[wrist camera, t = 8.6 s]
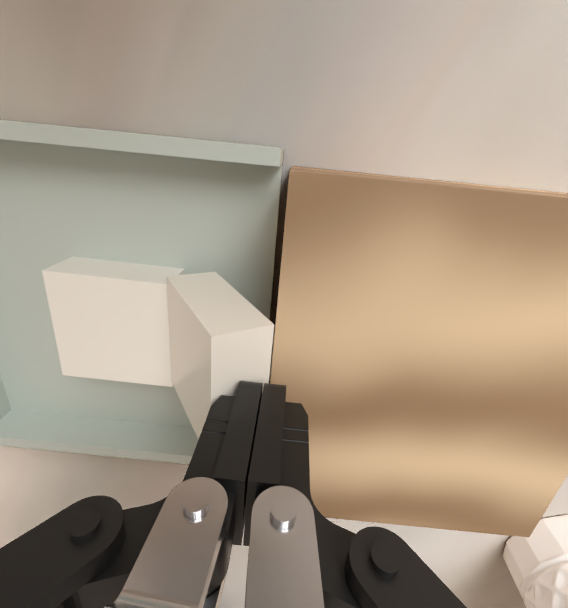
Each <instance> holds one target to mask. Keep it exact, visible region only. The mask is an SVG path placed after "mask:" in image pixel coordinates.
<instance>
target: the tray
mask: <svg viewBox="0 0 568 608" xmlns="http://www.w3.org/2000/svg"><path fill="white" fill-rule="evenodd" d="M283 155H284V149H283V148H281V147H272V146H262V145H252V144H242V143H231V142H221V141H211V140H201V139H191V138H181V137H171V136H161V135H151V134H141V133H131V132H121V131H111V130H101V129H91V128H81V127H71V126H61V125H51V124H41V123H31V122H21V121H11V120H1V119H0V446H8V447H18V448H28V449H38V450H48V451H58V452H68V453H79V454H89V455H99V456H109V457H119V458H129V459H139V460H150V461H160V462H170V463H180V464H190V461H191V459H192V456H193V453H194V450H195V448H196V445H197V442H198V438H197V436H196V434H195V431H194V429H193V427H192V425H191V423H190V420H189V418H188V416H187V414H186V412H185V410H184V407H183V405H182V403H181V401H180V399H179V396H178V394H177V392H176V390H175V388H174V386H173V387H168V386H158V385H149V384H140V383H131V382H122V381H112V380H103V379H94V378H85V377H75V376H66V375H63V374H62V369H61V364H60V359H59V354H58V349H57V344H56V339H55V334H54V329H53V324H52V319H51V314H50V309H49V304H48V299H47V294H46V289H45V284H44V279H43V274H42V270H44V269H46V268H48V267H51V266H53V265H55V264H57V263H59V262H62V261H64V260H66V259H68V258H71V257H73V256H74V257H83V258H92V259H101V260H110V261H119V262H128V263H137V264H146V265H155V266H164V267H173V268H182V269H184V275H185V274H196V273H206V272H216V273H217V274H219V275H220V276H221V277H222V278H223V279H224V280H225V281H226V282H227V283H229V284H230V285H231V286H232V287H233V288H234V289H235V290H236V291H238V292H239V293H240V294H241V295H242V296H243V297H244V298H245V299H246V300H248V301H249V302H250V303H251V304H252V305H253V306H254V307H255V308H256V309H258V310H259V311H260V312H261V313H262V314H263V315H264V316H265V317H266V318H268V319H269V320H270V312H271V300H272V288H273V276H274V264H275V251H276V239H277V227H278V215H279V203H280V191H281V179H282V167H283Z"/></svg>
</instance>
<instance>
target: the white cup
mask: <svg viewBox="0 0 568 608" xmlns="http://www.w3.org/2000/svg"><path fill="white" fill-rule="evenodd" d="M503 558H504V560H505V562H506V565H507V567H508V569H509V571H510V573H511V575H512V577H513V579H514V581H515V584H516V586H517V588H518V590H519V592H520V595H521V597H522V599H523V601H524V604H525V608H568V515H561V516H553V517H548V518H542V519H540V521H539V522H538V524H537V526H536V527H535V529H534V530H533V532H532V534H531V535H530V537H520V536H512V537H511V538H510V539H509V540H508V541H507V542H506V545H505V549H504V553H503Z"/></svg>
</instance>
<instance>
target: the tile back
mask: <svg viewBox="0 0 568 608" xmlns="http://www.w3.org/2000/svg"><path fill="white" fill-rule="evenodd" d="M42 274H43V279H44V284H45V289H46V294H47V299H48V304H49V309H50V314H51V319H52V324H53V329H54V334H55V339H56V344H57V349H58V354H59V359H60V364H61V369H62V374H63V375H66V376H75V377H85V378H94V379H103V380H112V381H122V382H131V383H140V384H149V385H158V386H168V387H173V386H174V385H173V383H172V381H171V362H170V341H169V321H168V300H167V280H166V276H174V275H184V269H182V268H173V267H164V266H155V265H146V264H137V263H128V262H119V261H110V260H101V259H92V258H83V257H74V256H73V257H71V258H68V259H66V260H64V261H62V262H59V263H57V264H55V265H53V266H51V267H48V268H46V269H44V270H42Z"/></svg>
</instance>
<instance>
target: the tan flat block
mask: <svg viewBox="0 0 568 608" xmlns="http://www.w3.org/2000/svg"><path fill="white" fill-rule="evenodd" d="M270 384H279V385H286V399H285V402H293V403H301V404H302V405H303V407H304V409H305V411H306V413H307V414H308V425H309V430H308V432H309V467H310V493H311V497H312V500H313V503H314V505H315V506H316V508H317V510H318V511H319V512H320V513H321V514H322V515H323V516H324V517H327V518H337V519H347V520H357V521H367V522H377V523H387V524H398V525H408V526H418V527H428V528H438V529H448V530H459V531H469V532H479V533H489V534H499V535H509V536H520V537H530V535H531V534H532V532H533V530H534V529H535V527H536V526H537V524H538V522H539V521H540V519H541V517H542V516H543V514H544V513H545V511H546V509H547V508H548V506H549V504H550V503H551V501H552V500H553V498H554V496H555V495H556V493H557V491H558V490H559V488H560V487H561V485H562V483H563V482H564V480H565V478H566V477H567V475H568V193H559V192H549V191H539V190H529V189H519V188H509V187H499V186H489V185H479V184H469V183H458V182H448V181H438V180H428V179H418V178H408V177H398V176H388V175H378V174H368V173H358V172H348V171H338V170H328V169H318V168H308V167H298V166H292V167H291V169H290V171H289V181H288V192H287V203H286V214H285V225H284V236H283V247H282V258H281V269H280V280H279V291H278V302H277V313H276V324H275V335H274V346H273V357H272V368H271V379H270Z"/></svg>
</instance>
